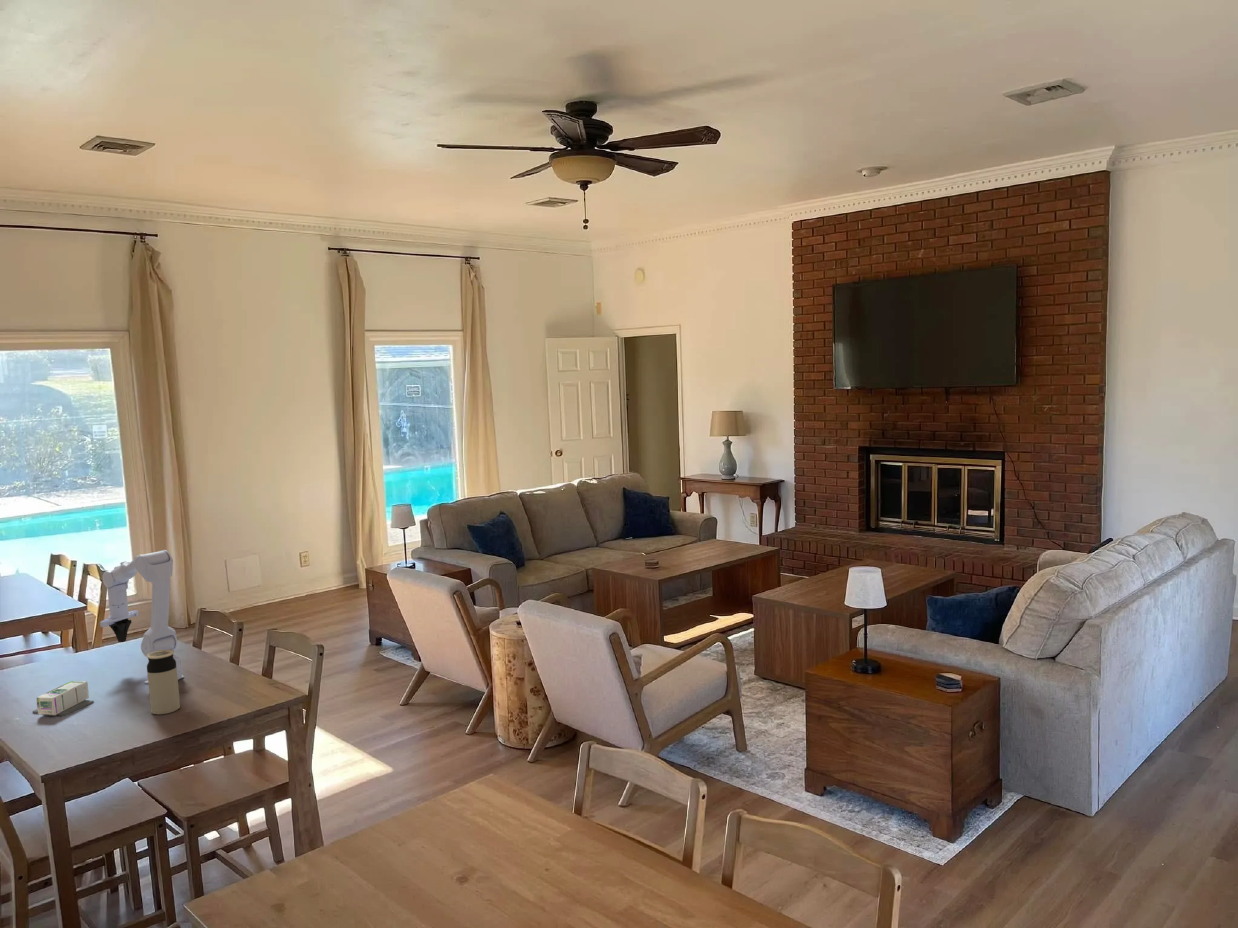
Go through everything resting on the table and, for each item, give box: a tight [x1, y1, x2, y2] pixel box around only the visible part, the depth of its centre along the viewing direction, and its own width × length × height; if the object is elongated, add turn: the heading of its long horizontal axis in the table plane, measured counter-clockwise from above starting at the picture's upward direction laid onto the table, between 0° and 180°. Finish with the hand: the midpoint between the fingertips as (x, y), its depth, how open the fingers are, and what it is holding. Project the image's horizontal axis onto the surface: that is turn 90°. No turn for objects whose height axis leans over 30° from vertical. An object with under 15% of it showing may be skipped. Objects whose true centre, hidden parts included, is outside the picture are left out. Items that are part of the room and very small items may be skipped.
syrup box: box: [36, 680, 90, 716], centre depth 275 cm, size 6×6×14 cm
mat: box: [32, 699, 95, 717], centre depth 276 cm, size 12×11×1 cm
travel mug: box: [146, 650, 181, 716], centre depth 270 cm, size 8×8×18 cm
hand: (122, 641), depth 309 cm, fingers closed
